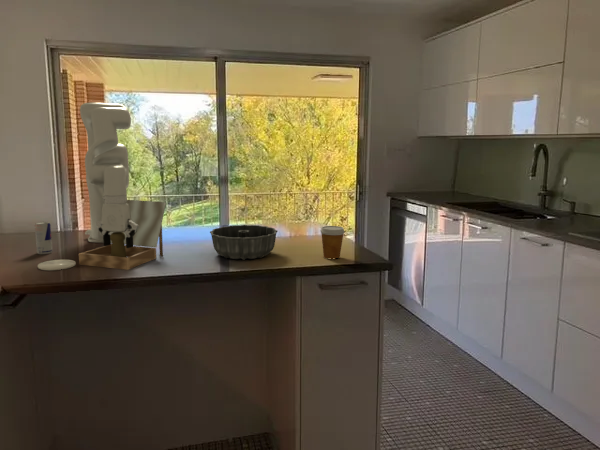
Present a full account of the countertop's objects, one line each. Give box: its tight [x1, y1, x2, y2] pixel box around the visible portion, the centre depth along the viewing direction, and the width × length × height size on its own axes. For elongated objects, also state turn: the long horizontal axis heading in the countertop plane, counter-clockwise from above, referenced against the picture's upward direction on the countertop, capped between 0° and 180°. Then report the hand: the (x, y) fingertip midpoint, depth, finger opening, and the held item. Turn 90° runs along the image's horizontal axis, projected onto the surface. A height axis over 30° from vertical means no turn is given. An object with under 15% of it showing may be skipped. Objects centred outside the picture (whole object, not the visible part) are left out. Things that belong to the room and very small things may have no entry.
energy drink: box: [34, 221, 53, 255], centre depth 189 cm, size 5×5×12 cm
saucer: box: [37, 259, 76, 271], centre depth 171 cm, size 12×12×1 cm
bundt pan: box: [209, 224, 278, 261], centre depth 192 cm, size 26×26×10 cm
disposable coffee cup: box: [320, 225, 345, 260], centre depth 190 cm, size 10×10×12 cm
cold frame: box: [78, 199, 167, 271], centre depth 181 cm, size 20×25×21 cm
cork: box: [110, 232, 128, 258], centre depth 178 cm, size 6×6×11 cm
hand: (118, 246), depth 178 cm, fingers open, 9 cm apart
